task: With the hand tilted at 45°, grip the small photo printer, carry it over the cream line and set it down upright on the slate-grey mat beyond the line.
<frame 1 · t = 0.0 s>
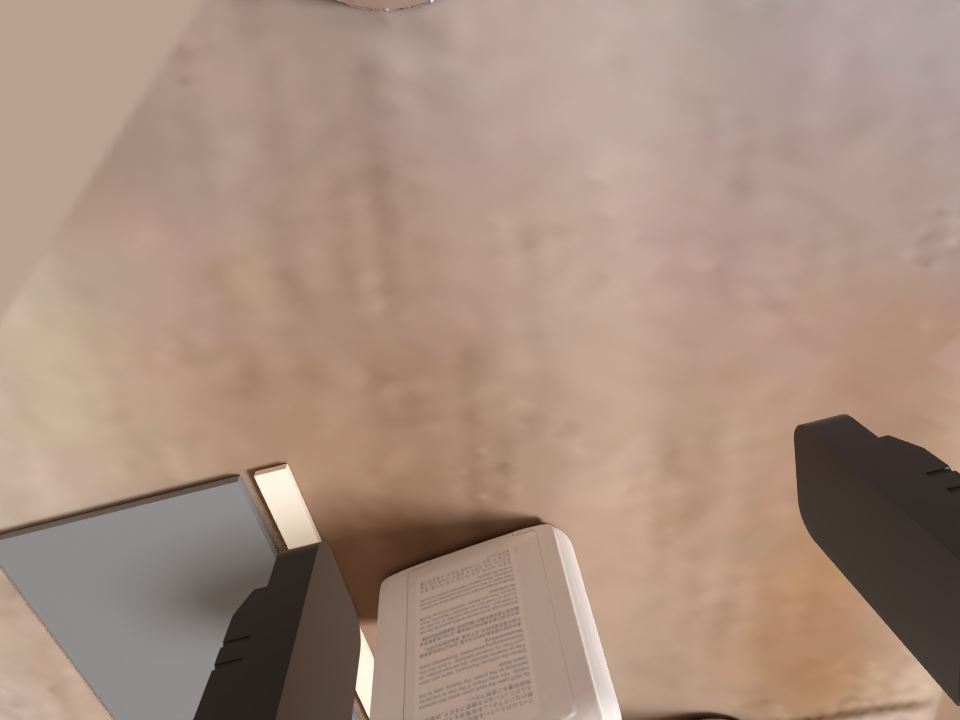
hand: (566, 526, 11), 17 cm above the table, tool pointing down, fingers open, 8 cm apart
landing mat: (229, 661, 35), on the table
photo printer: (475, 568, 34), on the table
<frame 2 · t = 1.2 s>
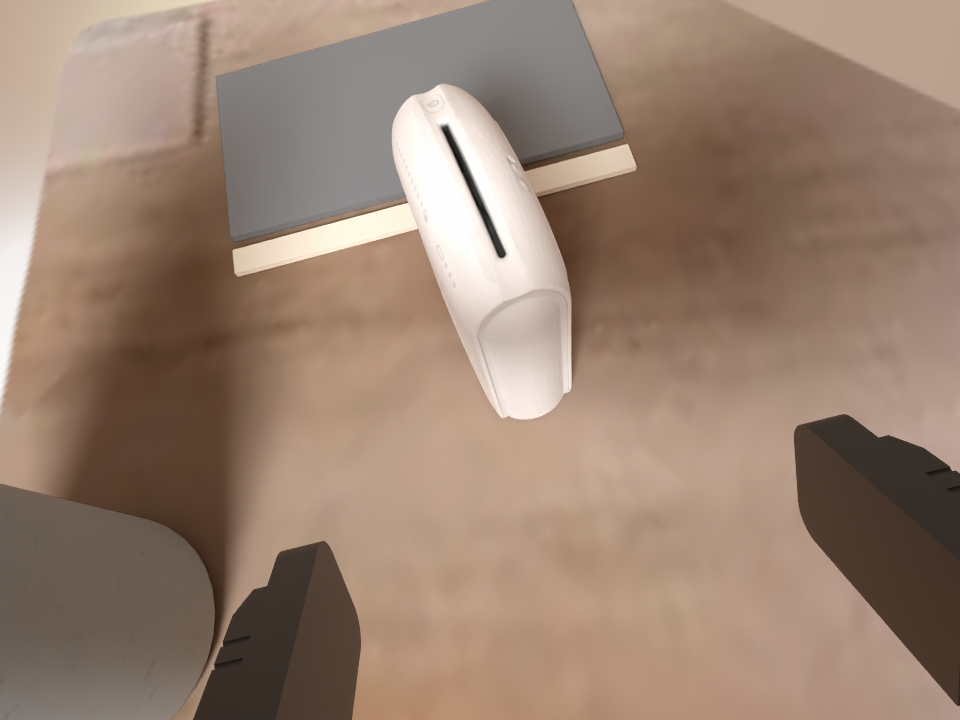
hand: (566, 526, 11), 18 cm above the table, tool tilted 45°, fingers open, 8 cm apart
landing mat: (410, 121, 38), on the table
water bottle: (121, 636, 30), on the table
photo printer: (501, 327, 33), on the table
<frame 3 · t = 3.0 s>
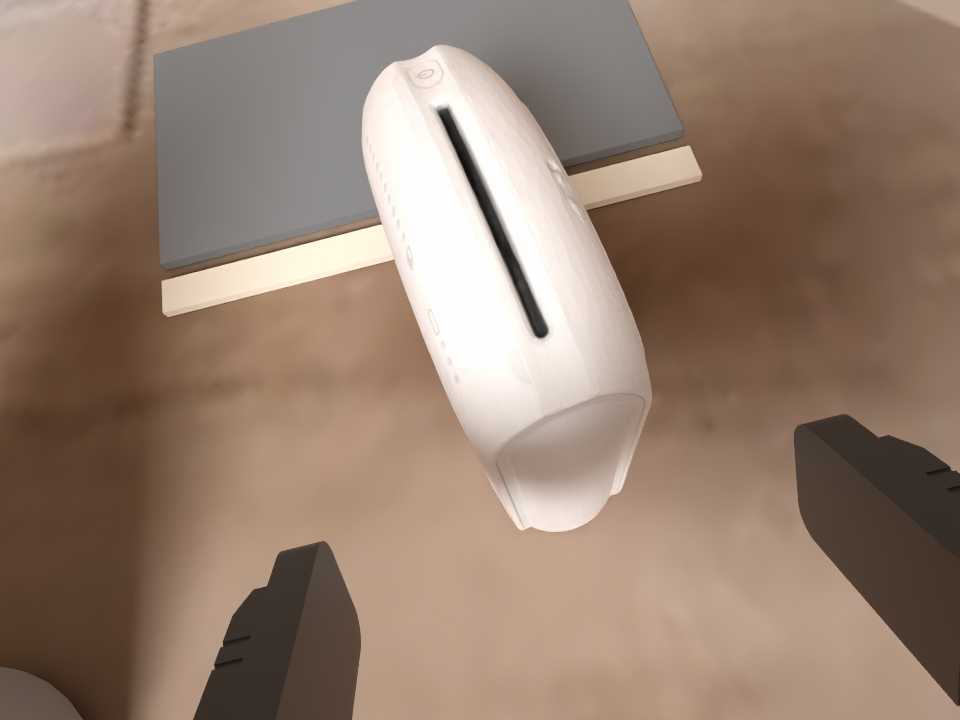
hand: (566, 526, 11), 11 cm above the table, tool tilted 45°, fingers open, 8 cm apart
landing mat: (400, 113, 29), on the table
photo printer: (520, 394, 24), on the table
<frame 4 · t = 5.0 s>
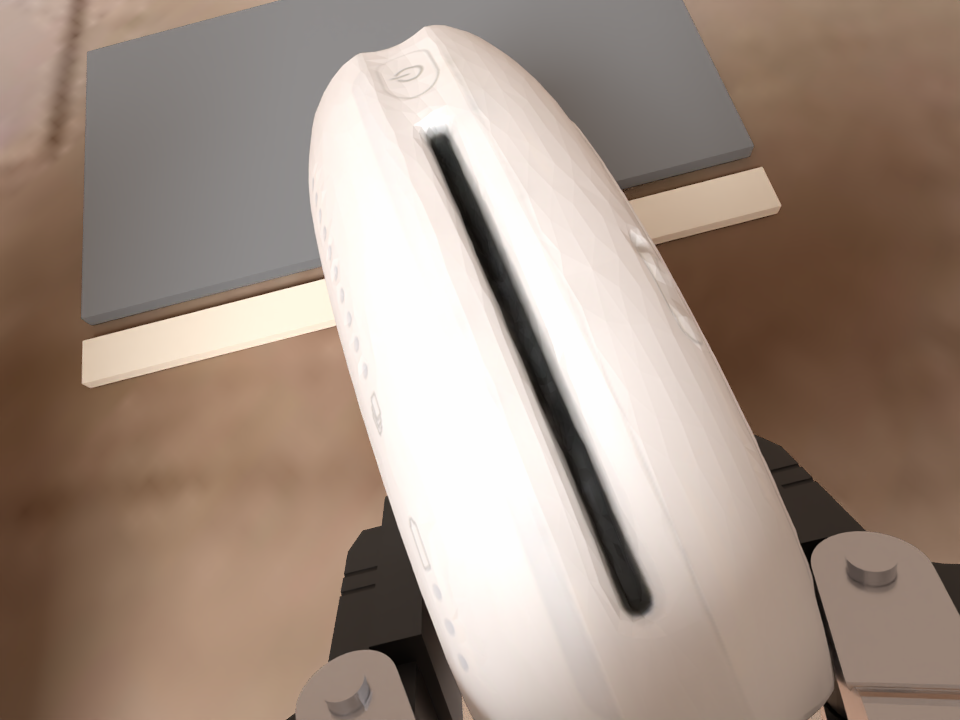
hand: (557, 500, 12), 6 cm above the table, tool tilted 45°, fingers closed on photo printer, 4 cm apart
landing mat: (391, 124, 23), on the table
photo printer: (547, 501, 18), on the table, touching gripper
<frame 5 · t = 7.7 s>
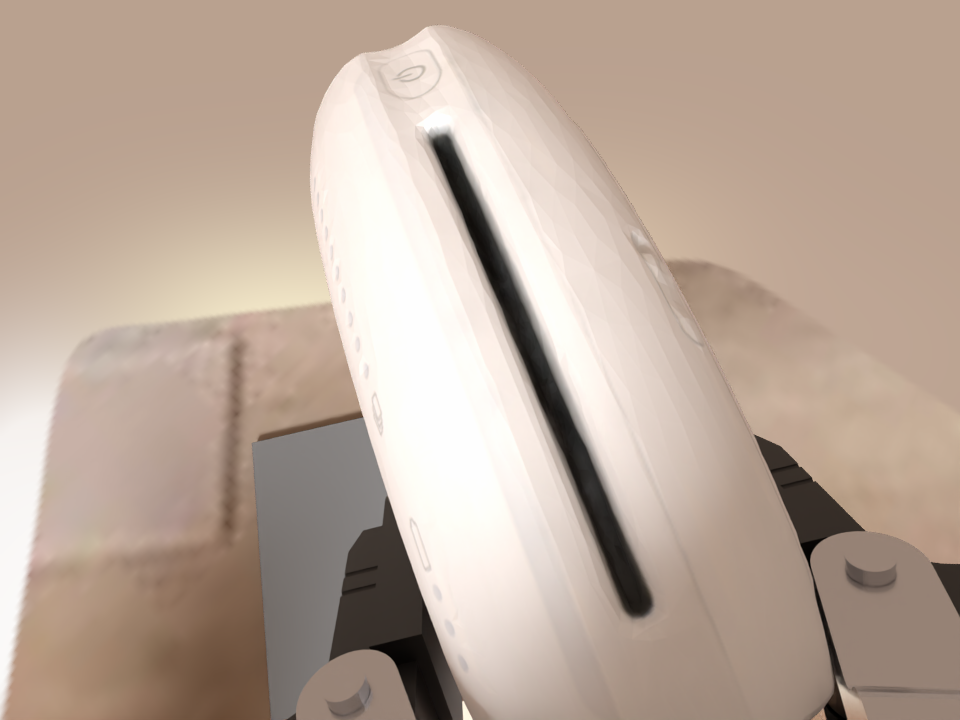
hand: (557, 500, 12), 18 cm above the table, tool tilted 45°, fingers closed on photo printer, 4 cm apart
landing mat: (508, 541, 29), on the table
photo printer: (547, 501, 18), point 12 cm above the table, touching gripper
when the fingers open (8 cm above the table, at t = 10.6 s): photo printer drops 1 cm, resting on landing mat.
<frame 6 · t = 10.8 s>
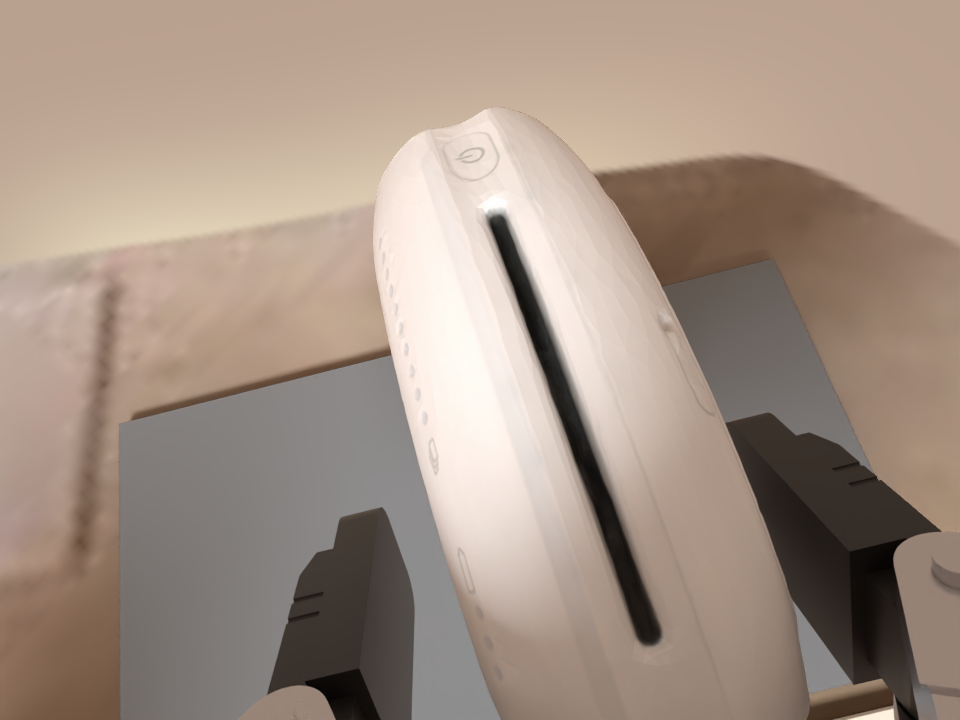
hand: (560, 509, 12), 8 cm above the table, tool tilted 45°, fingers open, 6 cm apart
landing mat: (491, 561, 19), on the table
photo printer: (559, 518, 19), resting on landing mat
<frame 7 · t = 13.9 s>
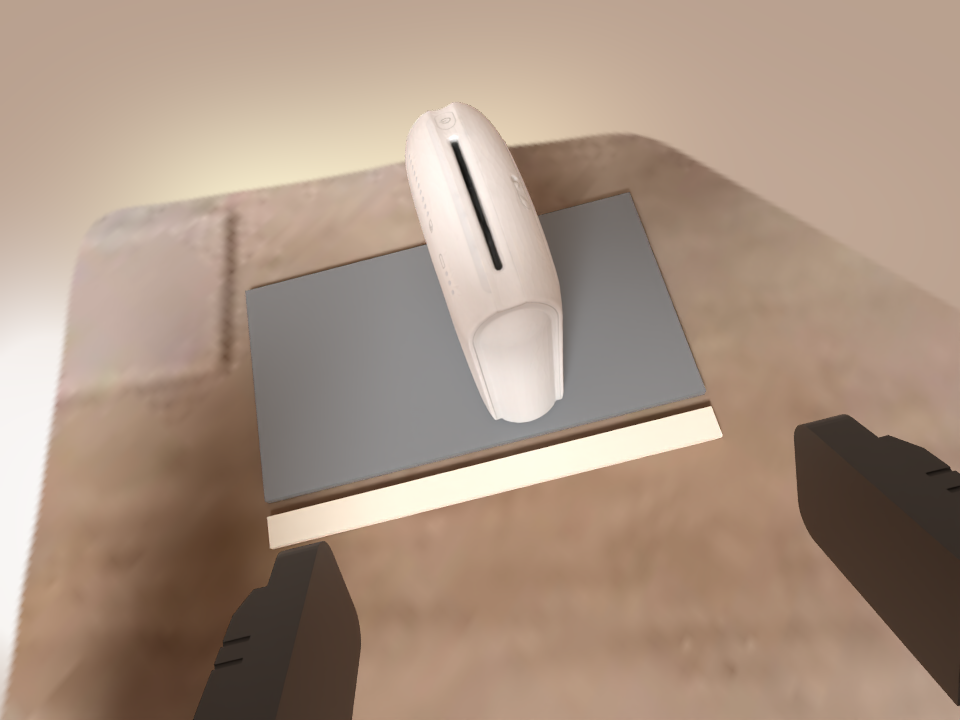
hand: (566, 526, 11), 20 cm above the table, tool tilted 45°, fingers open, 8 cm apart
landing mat: (463, 358, 34), on the table
photo printer: (501, 333, 34), resting on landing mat
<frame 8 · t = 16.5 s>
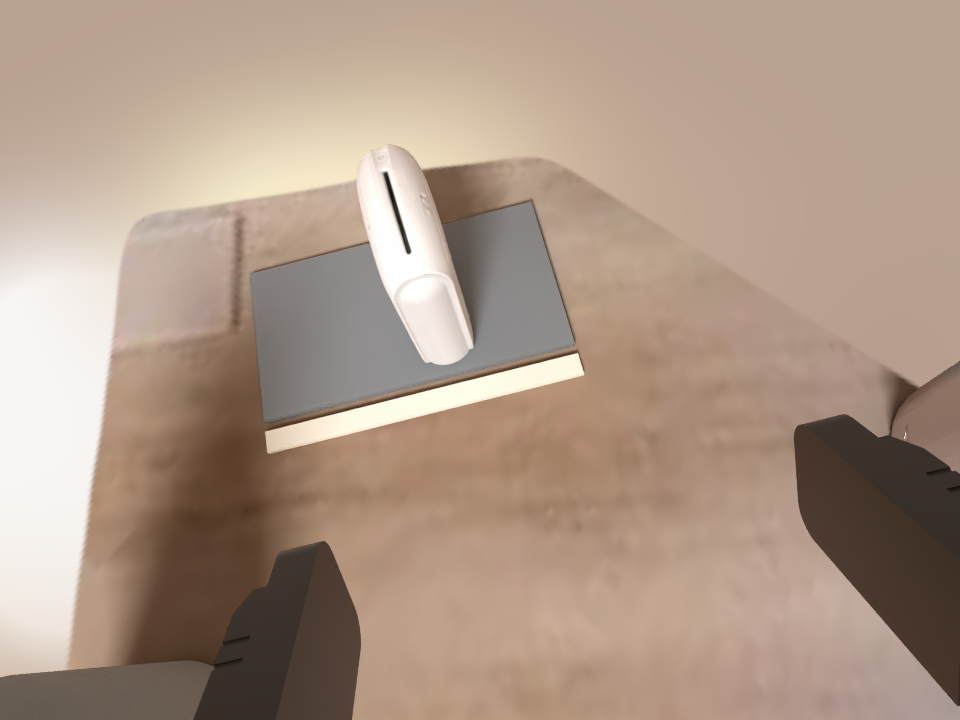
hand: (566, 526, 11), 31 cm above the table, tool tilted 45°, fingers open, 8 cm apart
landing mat: (407, 321, 48), on the table
photo printer: (434, 303, 48), resting on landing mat
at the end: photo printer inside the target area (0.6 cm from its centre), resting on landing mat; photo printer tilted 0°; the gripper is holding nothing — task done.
